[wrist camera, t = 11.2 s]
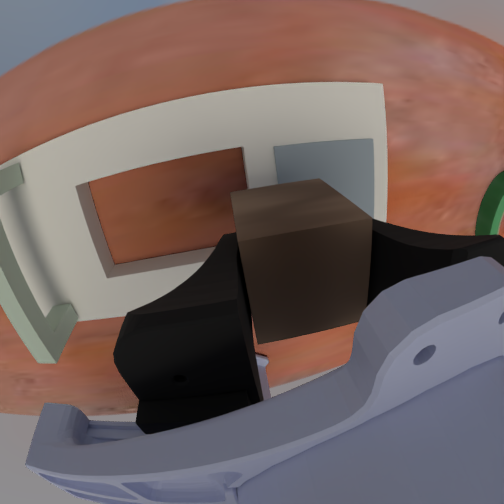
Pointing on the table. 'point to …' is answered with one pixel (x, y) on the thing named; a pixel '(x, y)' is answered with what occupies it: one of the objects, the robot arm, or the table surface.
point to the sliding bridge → (29, 297)
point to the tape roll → (491, 208)
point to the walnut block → (302, 257)
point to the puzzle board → (173, 147)
